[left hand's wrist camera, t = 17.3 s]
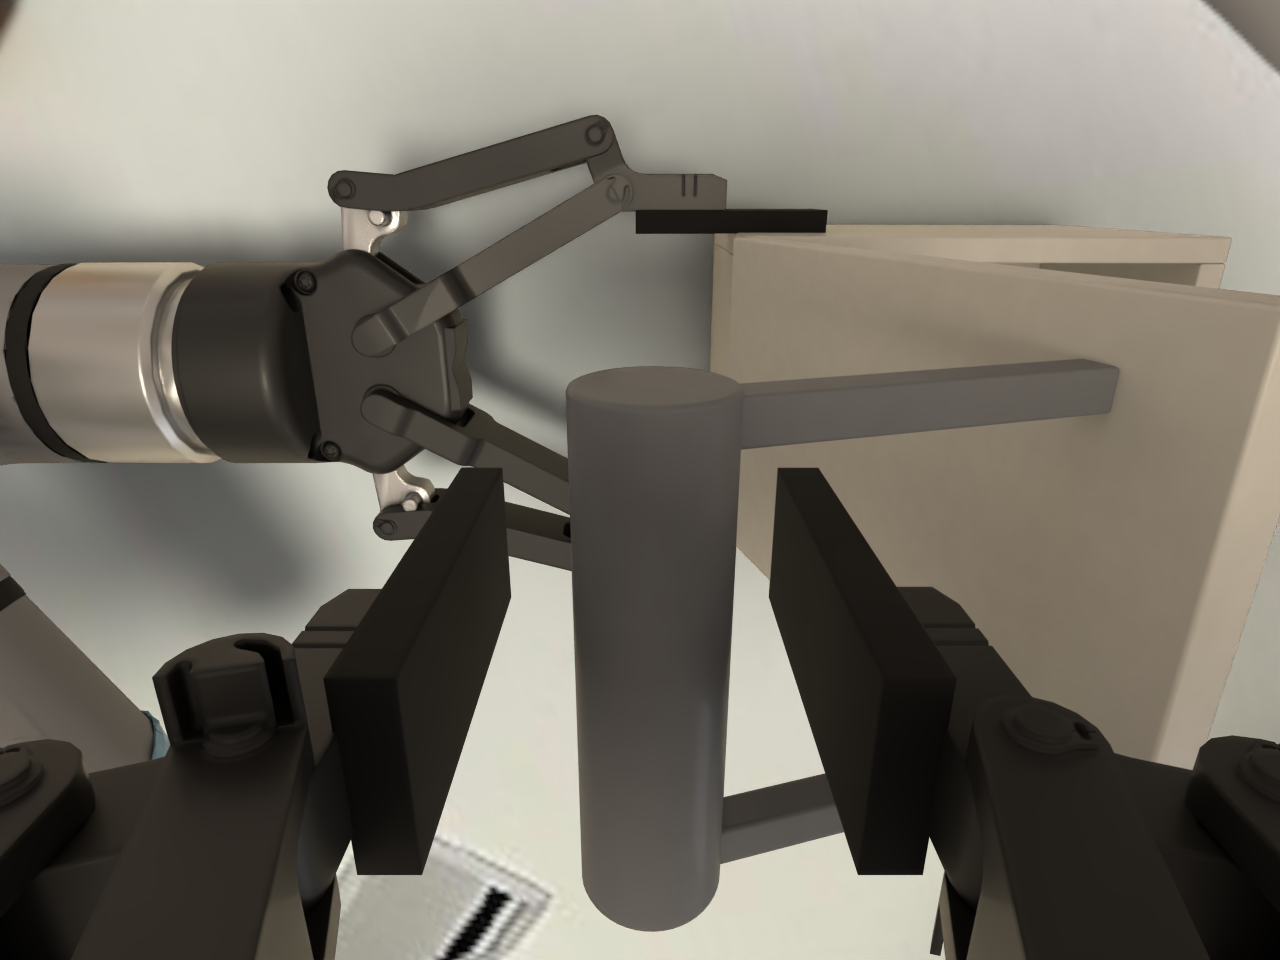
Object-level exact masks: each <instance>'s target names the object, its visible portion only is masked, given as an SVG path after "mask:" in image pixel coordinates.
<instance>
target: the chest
mask: <svg viewBox="0 0 1280 960" xmlns="http://www.w3.org/2000/svg"><path fill="white" fill-rule="evenodd" d="M759 237H763V238H772V239H781V240H790V241H799V242H807V243H816V244H825V245H834V246H843V247H852V248H861V249H869V250H878V251H887V252H896V253H905V254H914V255H923V256H931V257H940V258H949V259H958V260H967V261H976V262H985V263H993V264H1002V265H1011V266H1020V267H1029V268H1038V269H1047V270H1055V271H1064V272H1073V273H1082V274H1091V275H1100V276H1109V277H1117V278H1126V279H1135V280H1144V281H1153V282H1162V283H1171V284H1179V285H1188V286H1197V287H1206V288H1215V289H1219V287H1220V283H1221V279H1222V276H1223V272H1224V268H1225V264H1222V263H1225V262H1226V260H1227V256H1228V252H1229V249H1230V245H1231V241H1232V238H1230V237H1220V236H1206V235H1192V234H1177V233H1163V232H1149V231H1135V230H1120V229H1106V228H1092V227H1078V226H1062V225H826V233H737V234H714V264H713V293H712V322H711V352H710V372H714V373H717V374H721V375H724V376H726V377H728V361H729V337H730V314H731V290H732V267H733V244H734V239H735V238H759Z"/></svg>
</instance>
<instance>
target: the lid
mask: <svg viewBox="0 0 1280 960" xmlns="http://www.w3.org/2000/svg"><path fill="white" fill-rule="evenodd" d="M566 411H567V441H568V470H569V500H570V529H571V559H572V588H573V618H574V647H575V677H576V706H577V736H578V765H579V795H580V825H581V854H582V878H583V883H584V887H585V890H586V892H587V894H588V896H589V898H590V900H591V901H592V902H593V904H594V905H595V906H596V908H597V909H598V910H599V911H600V912H601V913H602V914H603V915H605V916H606V917H607V918H609V919H610V920H612V921H613V922H615V923H617V924H619V925H622V926H624V927H626V928H630V929H634V930H639V931H651V932H655V931H665V930H669V929H674V928H676V927H679V926H682V925H684V924H686V923H688V922H690V921H691V920H693V919H694V918H696V917H697V916H698V915H699V914H700V913H702V912H703V911H704V909H705V908H706V907H707V906H708V905H709V903H710V902H711V900H712V898H713V897H714V895H715V892H716V890H717V887H718V883H719V874H720V864H723V863H727V862H731V861H734V860H738V859H742V858H746V857H750V856H754V855H757V854H761V853H765V852H769V851H773V850H777V849H780V848H784V847H788V846H792V845H796V844H800V843H803V842H807V841H811V840H815V839H819V838H823V837H826V836H830V835H834V834H838V833H842V832H844V830H843V826H842V823H841V820H840V817H839V814H838V811H837V808H836V805H835V802H834V798H833V795H832V792H831V789H830V786H829V783H828V780H827V777H826V774H821V775H817V776H812V777H808V778H804V779H800V780H795V781H791V782H787V783H782V784H778V785H774V786H770V787H765V788H761V789H757V790H753V791H748V792H744V793H740V794H736V795H731V796H727V797H723V795H724V775H725V756H726V736H727V716H728V696H729V677H730V657H731V637H732V617H733V598H734V578H735V558H736V547H737V548H738V549H739V550H740V551H741V552H742V553H743V554H744V555H745V556H746V557H747V558H748V559H749V560H750V561H751V562H752V563H753V564H754V565H755V566H756V567H757V568H758V569H759V570H760V571H761V572H762V573H763V574H764V575H765V576H766V577H767V578H768V579H769V580H770V573H771V558H772V543H773V529H774V514H775V499H776V484H777V470H778V468H819V469H820V471H821V472H822V474H823V475H824V477H825V478H826V480H827V481H828V483H829V484H830V486H831V488H832V489H833V491H834V492H835V494H836V495H837V497H838V498H839V500H840V501H841V503H842V504H843V506H844V507H845V509H846V510H847V512H848V513H849V515H850V516H851V518H852V520H853V521H854V523H855V524H856V526H857V527H858V529H859V530H860V532H861V533H862V535H863V536H864V538H865V539H866V541H867V542H868V544H869V545H870V547H871V548H872V550H873V552H874V553H875V555H876V556H877V558H878V559H879V561H880V562H881V564H882V565H883V567H884V568H885V570H886V571H887V573H888V574H889V576H890V577H891V579H892V580H893V582H894V584H895V585H896V587H933V588H935V589H937V590H938V591H940V592H941V593H943V594H944V595H946V596H948V597H949V598H951V599H952V600H954V601H955V602H957V603H959V604H960V605H961V607H962V608H963V609H964V610H965V612H966V613H967V614H968V616H969V617H970V618H971V619H972V621H973V622H974V623H975V628H979V630H980V631H981V632H982V633H983V635H984V636H985V637H986V639H987V640H988V641H989V642H988V643H989V646H993V648H994V649H995V650H996V651H997V653H998V654H999V655H1000V656H1001V658H1002V659H1003V660H1004V662H1005V663H1006V664H1007V665H1008V667H1009V668H1010V669H1011V671H1012V672H1013V673H1014V674H1015V676H1016V677H1017V678H1018V680H1019V681H1020V682H1021V683H1022V685H1023V686H1024V687H1025V688H1026V690H1027V691H1028V692H1029V694H1030V695H1031V696H1032V697H1034V698H1038V699H1042V700H1046V701H1050V702H1054V703H1056V704H1058V705H1060V706H1063V707H1065V708H1067V709H1069V710H1071V711H1074V712H1076V713H1078V714H1079V715H1081V716H1082V717H1083V718H1085V719H1086V720H1088V721H1089V722H1090V723H1092V724H1093V725H1094V726H1096V727H1097V728H1098V729H1099V730H1100V732H1101V733H1102V734H1103V736H1104V737H1105V738H1106V739H1107V741H1108V742H1109V743H1110V745H1111V747H1112V749H1113V752H1114V753H1117V754H1120V755H1124V756H1128V757H1132V758H1136V759H1141V760H1146V761H1151V762H1156V763H1160V764H1165V765H1170V766H1175V767H1180V768H1185V769H1189V770H1193V767H1194V764H1195V761H1196V758H1197V755H1198V752H1199V748H1200V747H1201V746H1202V745H1204V744H1205V743H1206V742H1207V739H1208V736H1209V733H1210V730H1211V727H1212V723H1213V720H1214V717H1215V714H1216V711H1217V708H1218V705H1219V702H1220V699H1221V696H1222V693H1223V690H1224V686H1225V683H1226V680H1227V677H1228V674H1229V671H1230V668H1231V665H1232V662H1233V659H1234V656H1235V652H1236V649H1237V646H1238V643H1239V640H1240V637H1241V634H1242V631H1243V628H1244V625H1245V622H1246V619H1247V615H1248V612H1249V609H1250V606H1251V603H1252V600H1253V597H1254V594H1255V591H1256V588H1257V585H1258V581H1259V578H1260V575H1261V572H1262V569H1263V566H1264V563H1265V560H1266V557H1267V554H1268V551H1269V548H1270V544H1271V541H1272V538H1273V535H1274V532H1275V529H1276V526H1277V523H1278V520H1279V517H1280V296H1277V295H1268V294H1259V293H1250V292H1242V291H1233V290H1224V289H1215V288H1206V287H1197V286H1188V285H1179V284H1171V283H1162V282H1153V281H1144V280H1135V279H1126V278H1117V277H1109V276H1100V275H1091V274H1082V273H1073V272H1064V271H1055V270H1047V269H1038V268H1029V267H1020V266H1011V265H1002V264H993V263H985V262H976V261H967V260H958V259H949V258H940V257H931V256H923V255H914V254H905V253H896V252H887V251H878V250H869V249H861V248H852V247H843V246H834V245H825V244H816V243H807V242H799V241H790V240H781V239H772V238H763V237H759V238H735V239H734V244H733V267H732V290H731V314H730V337H729V361H728V377H726V376H724V375H721V374H717V373H714V372H709V371H704V370H698V369H691V368H681V367H663V366H643V367H625V368H615V369H608V370H602V371H597V372H593V373H590V374H587V375H584V376H581V377H579V378H576V379H575V380H573V381H571V382H570V383H569V385H568V387H567V390H566Z"/></svg>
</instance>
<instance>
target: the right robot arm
mask: <svg viewBox="0 0 1280 960" xmlns="http://www.w3.org/2000/svg"><path fill="white" fill-rule="evenodd" d="M583 163H587V164H588V167H589V170H590V173H591V176H592V178H593V181H594V184H593V185H591V186H590V187H588V188H586V189H585V190H583V191H581V192H580V193H578V194H577V195H575V196H573V197H572V198H570V199H568V200H567V201H565V202H563V203H562V204H560V205H558V206H557V207H555V208H553V209H552V210H550V211H548V212H547V213H545V214H543V215H542V216H540V217H538V218H537V219H535V220H533V221H532V222H530V223H528V224H527V225H525V226H523V227H522V228H520V229H518V230H517V231H515V232H513V233H512V234H510V235H508V236H507V237H505V238H503V239H502V240H500V241H498V242H497V243H495V244H493V245H492V246H490V247H488V248H487V249H485V250H483V251H482V252H480V253H478V254H477V255H475V256H473V257H472V258H470V259H468V260H467V261H465V262H464V263H462V264H460V265H459V266H457V267H455V268H453V269H452V270H450V271H448V272H446V273H444V274H443V275H441V276H439V277H437V278H436V279H434V280H432V281H431V282H429V283H427V284H426V283H424V282H423V281H421V280H420V279H419V278H417V277H416V276H414V275H413V274H411V273H410V272H408V271H407V270H406V269H404V268H403V267H401V266H400V265H398V264H397V263H395V262H394V261H393V260H391V259H390V258H388V257H387V256H385V255H384V254H382V253H381V252H379V245H380V243H381V240H382V239H383V238H384V237H385V236H387V235H388V234H392V233H397V232H399V231H401V230H403V228H404V227H405V226H406V223H407V218H408V213H407V211H413V210H423V209H430V208H434V207H438V206H442V205H445V204H449V203H452V202H455V201H459V200H462V199H465V198H469V197H472V196H476V195H479V194H482V193H486V192H489V191H492V190H496V189H499V188H502V187H506V186H509V185H513V184H516V183H519V182H523V181H526V180H529V179H533V178H536V177H540V176H543V175H546V174H550V173H553V172H556V171H560V170H563V169H566V168H570V167H573V166H577V165H580V164H583ZM328 192H329V196H330V197H331V199H332V200H333V202H335V203H336V204H337V205H339V206H340V207H341V213H342V233H343V251H342V252H340V253H338V254H336V255H335V256H333V257H332V258H330V259H328V260H326V261H323V262H219V263H214V264H210V265H208V266H207V267H203V266H200V265H198V264H195V263H192V262H99V263H78V264H60V265H32V264H0V465H6V464H15V463H78V462H95V463H107V462H128V463H213V462H215V461H217V460H220V459H224V460H226V461H229V462H234V463H324V462H344V463H348V464H351V465H354V466H357V467H359V468H361V469H363V470H365V471H367V472H370V473H373V478H374V482H375V487H376V491H377V496H378V500H379V505H380V513H379V514H378V515H377V516H376V518H375V520H374V522H373V529H374V531H375V533H376V534H377V535H378V536H379V537H380V538H382V539H384V540H390V541H393V540H406V539H415V538H416V536H417V535H418V533H419V532H420V530H421V529H422V527H423V526H424V524H425V523H426V521H427V520H428V518H429V516H430V515H431V513H432V512H433V510H434V509H435V507H436V506H437V504H438V503H439V501H440V500H441V498H442V497H443V495H444V494H445V492H446V491H447V489H444V488H434V486H433V484H432V483H431V481H430V480H429V479H426V478H421V477H416V476H413V475H411V474H410V473H409V472H408V471H407V470H406V469H405V466H404V464H405V463H406V462H408V461H409V460H410V459H412V458H413V457H414V456H416V455H417V454H419V453H420V452H421V451H423V450H424V449H427V450H429V451H431V452H433V453H435V454H437V455H439V456H441V457H443V458H445V459H447V460H449V461H451V462H453V463H456V464H458V465H462V466H472V467H475V468H502V470H503V482H505V483H507V484H509V485H511V486H513V487H515V488H517V489H519V490H521V491H523V492H525V493H527V494H529V495H531V496H533V497H535V498H537V499H539V500H541V501H543V502H545V503H547V504H549V505H551V506H553V507H555V508H557V509H559V510H561V511H563V512H565V513H567V514H569V515H570V500H569V470H568V459H567V458H565V457H563V456H561V455H559V454H557V453H555V452H553V451H551V450H550V449H548V448H546V447H544V446H542V445H540V444H538V443H536V442H534V441H532V440H530V439H528V438H526V437H524V436H522V435H520V434H518V433H516V432H514V431H513V430H511V429H509V428H507V427H505V426H503V425H501V424H499V423H497V422H496V421H495V420H494V419H493V418H492V416H490V415H489V414H488V413H486V412H484V411H482V410H480V409H478V408H477V407H475V406H473V405H471V404H469V401H470V400H471V399H472V398H473V395H472V383H471V377H470V374H469V371H468V368H467V366H466V363H465V352H466V347H467V342H468V333H467V320H462V317H461V315H460V313H459V311H458V310H457V308H458V307H460V306H462V305H463V304H465V303H467V302H469V301H470V300H472V299H474V298H475V297H477V296H479V295H480V294H482V293H484V292H485V291H487V290H489V289H490V288H492V287H494V286H496V285H497V284H499V283H501V282H502V281H504V280H506V279H507V278H509V277H511V276H512V275H514V274H516V273H518V272H519V271H521V270H523V269H524V268H526V267H528V266H529V265H531V264H533V263H535V262H536V261H538V260H540V259H541V258H543V257H545V256H546V255H548V254H550V253H551V252H553V251H555V250H557V249H558V248H560V247H562V246H563V245H565V244H567V243H568V242H570V241H572V240H573V239H575V238H577V237H579V236H580V235H582V234H584V233H585V232H587V231H589V230H590V229H592V228H594V227H595V226H597V225H599V224H601V223H602V222H604V221H606V220H607V219H609V218H611V217H612V216H614V215H616V214H617V213H619V212H621V211H636V234H737V233H826V223H827V211H828V210H818V209H726V194H727V180H725V179H723V178H720V177H718V176H716V175H714V174H640V173H637V172H635V171H633V170H632V169H630V168H629V167H628V166H627V164H626V163H625V161H624V159H623V157H622V154H621V151H620V148H619V145H618V142H617V139H616V136H615V133H614V131H613V128H612V126H611V124H610V122H608V121H607V120H606V119H605V118H604V117H602V116H599V115H591V116H587V117H584V118H580V119H577V120H574V121H571V122H567V123H564V124H561V125H557V126H554V127H551V128H547V129H544V130H541V131H538V132H534V133H531V134H528V135H524V136H521V137H518V138H514V139H511V140H508V141H505V142H501V143H498V144H495V145H491V146H488V147H485V148H481V149H478V150H475V151H472V152H468V153H465V154H462V155H458V156H455V157H452V158H448V159H445V160H442V161H438V162H435V163H432V164H429V165H425V166H422V167H419V168H415V169H412V170H409V171H405V172H402V173H399V174H396V175H392V174H380V173H369V172H358V171H346V170H343V171H337V172H336V173H334V174H333V175H332V176H331V177H330V179H329V181H328ZM505 514H506V529H507V543H508V556H511V557H516V558H520V559H524V560H528V561H532V562H536V563H540V564H545V565H549V566H553V567H557V568H561V569H565V570H569V571H572V559H571V529H570V518H569V517H565V516H561V515H557V514H553V513H549V512H545V511H541V510H537V509H533V508H529V507H525V506H521V505H517V504H513V503H509V502H505ZM45 739H52V740H59V741H67V742H70V743H72V744H73V745H74V746H76V747H77V748H78V749H79V750H81V752H82V755H83V758H84V761H85V764H86V767H87V770H88V773H93V772H98V771H102V770H107V769H112V768H117V767H122V766H126V765H131V764H136V763H141V762H146V761H150V760H154V759H157V758H161V757H165V755H166V753H167V751H168V749H169V746H170V743H169V739H168V737H167V735H166V734H165V733H164V731H163V729H162V727H161V726H160V723H159V721H158V720H157V719H155V718H154V717H153V716H152V715H151V714H150V713H149V712H148V711H140V710H139V709H138V708H137V707H136V706H135V705H134V704H133V703H132V702H131V701H130V700H129V699H128V698H127V697H126V696H125V695H124V693H123V692H122V691H121V690H120V689H119V688H118V687H117V686H116V685H115V684H114V683H113V682H112V681H111V680H110V679H109V678H108V677H107V676H106V675H105V674H104V673H103V672H102V671H101V670H100V669H99V668H98V667H97V666H96V665H95V664H94V663H93V662H92V661H91V660H90V659H89V658H88V657H87V656H86V655H85V654H84V653H83V652H82V651H81V650H80V649H79V648H78V647H77V646H76V645H75V644H74V643H73V642H72V641H71V640H70V639H69V638H68V637H67V636H66V635H65V634H64V633H63V632H62V631H61V630H60V629H59V628H58V627H57V626H56V625H55V624H54V623H53V622H52V621H51V620H50V619H49V618H48V617H47V616H46V615H45V614H44V613H43V612H42V611H41V610H40V609H39V608H38V607H37V606H36V605H35V604H34V603H33V602H32V601H31V600H30V599H29V598H28V597H27V596H26V593H25V592H24V590H23V589H22V588H21V587H20V586H19V584H18V583H17V582H16V581H15V580H14V579H13V578H12V577H11V576H10V574H9V573H8V572H7V570H6V569H5V568H4V567H3V566H2V565H1V564H0V748H1V747H2V748H4V747H6V746H8V745H12V744H17V743H21V742H29V741H37V740H45Z"/></svg>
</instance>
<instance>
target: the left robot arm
mask: <svg viewBox="0 0 1280 960" xmlns="http://www.w3.org/2000/svg"><path fill="white" fill-rule="evenodd" d="M510 599H511V588H510V573H509V558H508V543H507V529H506V514H505V499H504V484H503V470H502V468H461V469H460V471H459V472H458V474H457V475H456V477H455V478H454V480H453V481H452V483H451V484H450V486H449V488H448V489H447V491H446V492H445V494H444V495H443V497H442V498H441V500H440V501H439V503H438V504H437V506H436V507H435V509H434V510H433V512H432V513H431V515H430V516H429V518H428V520H427V521H426V523H425V524H424V526H423V527H422V529H421V530H420V532H419V533H418V535H417V536H416V538H415V539H414V541H413V542H412V544H411V545H410V547H409V548H408V550H407V552H406V553H405V555H404V556H403V558H402V559H401V561H400V562H399V564H398V565H397V567H396V568H395V570H394V571H393V573H392V574H391V576H390V577H389V579H388V580H387V582H386V584H385V585H384V587H383V588H382V589H348V590H346V591H345V592H343V593H341V594H340V595H338V596H337V597H335V598H334V599H332V600H330V601H329V602H327V603H326V604H324V605H323V606H321V607H320V608H319V610H318V611H317V612H316V614H315V615H314V616H313V617H312V619H311V620H310V621H309V623H308V624H307V625H306V626H305V631H302V632H301V633H300V634H299V636H298V637H297V638H296V639H295V641H294V642H293V643H292V644H290V643H289V642H288V641H287V640H285V639H284V638H283V637H280V636H275V635H270V634H266V633H247V634H236V635H231V636H226V637H222V638H217V639H213V640H210V641H207V642H205V643H202V644H200V645H197V646H195V647H192V648H189V649H187V650H185V651H184V652H182V653H180V654H179V655H177V656H176V657H174V658H172V659H171V660H169V661H168V662H166V663H165V664H164V665H163V666H162V667H161V668H160V669H159V671H158V672H157V673H156V674H155V675H154V676H153V677H152V679H153V683H154V687H155V690H156V694H157V698H158V702H159V705H160V709H161V713H162V716H163V720H164V724H165V728H166V731H167V735H168V739H169V743H170V746H169V749H168V751H167V753H166V755H165V757H161V758H157V759H154V760H150V761H146V762H141V763H136V764H131V765H126V766H122V767H117V768H112V769H107V770H102V771H98V772H93V773H88V770H87V767H86V764H85V761H84V758H83V755H82V752H81V750H79V749H78V748H77V747H76V746H74V745H73V744H72V743H70V742H67V741H59V740H52V739H45V740H37V741H29V742H21V743H17V744H12V745H8V746H6V747H4V748H2V747H1V748H0V960H335V951H336V943H337V935H338V926H339V918H340V909H341V901H340V894H339V887H338V882H337V877H336V872H337V869H338V867H339V865H340V863H341V860H342V858H343V856H344V854H345V852H346V849H347V847H348V845H349V843H350V840H351V841H352V847H353V853H354V859H355V864H356V870H357V875H422V873H423V870H424V867H425V864H426V861H427V858H428V855H429V851H430V848H431V845H432V842H433V839H434V836H435V833H436V830H437V826H438V823H439V820H440V817H441V814H442V811H443V808H444V805H445V802H446V798H447V795H448V792H449V789H450V786H451V783H452V780H453V777H454V774H455V770H456V767H457V764H458V761H459V758H460V755H461V752H462V749H463V745H464V742H465V739H466V736H467V733H468V730H469V727H470V724H471V721H472V717H473V714H474V711H475V708H476V705H477V702H478V699H479V696H480V693H481V689H482V686H483V683H484V680H485V677H486V674H487V671H488V668H489V665H490V661H491V658H492V655H493V652H494V649H495V646H496V643H497V640H498V636H499V633H500V630H501V627H502V624H503V621H504V618H505V615H506V612H507V608H508V605H509V602H510ZM769 599H770V602H771V605H772V608H773V612H774V615H775V618H776V621H777V624H778V627H779V630H780V633H781V636H782V640H783V643H784V646H785V649H786V652H787V655H788V658H789V661H790V665H791V668H792V671H793V674H794V677H795V680H796V683H797V686H798V689H799V693H800V696H801V699H802V702H803V705H804V708H805V711H806V714H807V717H808V721H809V724H810V727H811V730H812V733H813V736H814V739H815V742H816V745H817V749H818V752H819V755H820V758H821V761H822V764H823V767H824V770H825V774H826V777H827V780H828V783H829V786H830V789H831V792H832V795H833V798H834V802H835V805H836V808H837V811H838V814H839V817H840V820H841V823H842V826H843V830H844V833H845V836H846V839H847V842H848V845H849V848H850V851H851V855H852V858H853V861H854V864H855V867H856V870H857V873H858V875H923V870H924V864H925V859H926V853H927V847H928V841H929V837H930V839H931V841H932V843H933V845H934V848H935V850H936V852H937V854H938V857H939V859H940V861H941V863H942V865H943V868H944V870H945V871H944V877H943V882H942V887H941V893H940V898H939V903H938V909H937V914H936V919H935V925H934V930H933V935H932V942H931V949H930V954H934V955H938V956H940V955H941V950H942V944H943V941H944V950H945V958H946V960H1280V744H1279V745H1278V744H1275V742H1271V741H1267V740H1262V739H1256V738H1248V737H1240V736H1226V737H1218V738H1211V739H1210V740H1209V741H1208V742H1206V743H1205V744H1204V745H1202V746H1201V747H1200V748H1199V752H1198V755H1197V758H1196V761H1195V764H1194V767H1193V770H1189V769H1185V768H1180V767H1175V766H1170V765H1165V764H1160V763H1156V762H1151V761H1146V760H1141V759H1136V758H1132V757H1128V756H1124V755H1120V754H1117V753H1114V752H1113V749H1112V747H1111V745H1110V743H1109V742H1108V741H1107V739H1106V738H1105V737H1104V736H1103V734H1102V733H1101V732H1100V730H1099V729H1098V728H1097V727H1096V726H1094V725H1093V724H1092V723H1090V722H1089V721H1088V720H1086V719H1085V718H1083V717H1082V716H1081V715H1079V714H1078V713H1076V712H1074V711H1071V710H1069V709H1067V708H1065V707H1063V706H1060V705H1058V704H1056V703H1054V702H1050V701H1046V700H1042V699H1038V698H1034V697H1032V696H1031V695H1030V694H1029V692H1028V691H1027V690H1026V688H1025V687H1024V686H1023V685H1022V683H1021V682H1020V681H1019V680H1018V678H1017V677H1016V676H1015V674H1014V673H1013V672H1012V671H1011V669H1010V668H1009V667H1008V665H1007V664H1006V663H1005V662H1004V660H1003V659H1002V658H1001V656H1000V655H999V654H998V653H997V651H996V650H995V649H994V648H993V646H989V643H988V642H989V641H988V640H987V639H986V637H985V636H984V635H983V633H982V632H981V631H980V630H979V628H975V623H974V622H973V621H972V619H971V618H970V617H969V616H968V614H967V613H966V612H965V610H964V609H963V608H962V607H961V605H960V604H959V603H957V602H955V601H954V600H952V599H951V598H949V597H948V596H946V595H944V594H943V593H941V592H940V591H938V590H937V589H935V588H933V587H896V585H895V584H894V582H893V580H892V579H891V577H890V576H889V574H888V573H887V571H886V570H885V568H884V567H883V565H882V564H881V562H880V561H879V559H878V558H877V556H876V555H875V553H874V552H873V550H872V548H871V547H870V545H869V544H868V542H867V541H866V539H865V538H864V536H863V535H862V533H861V532H860V530H859V529H858V527H857V526H856V524H855V523H854V521H853V520H852V518H851V516H850V515H849V513H848V512H847V510H846V509H845V507H844V506H843V504H842V503H841V501H840V500H839V498H838V497H837V495H836V494H835V492H834V491H833V489H832V488H831V486H830V484H829V483H828V481H827V480H826V478H825V477H824V475H823V474H822V472H821V471H820V469H819V468H778V470H777V484H776V499H775V514H774V529H773V543H772V558H771V573H770V588H769Z"/></svg>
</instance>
